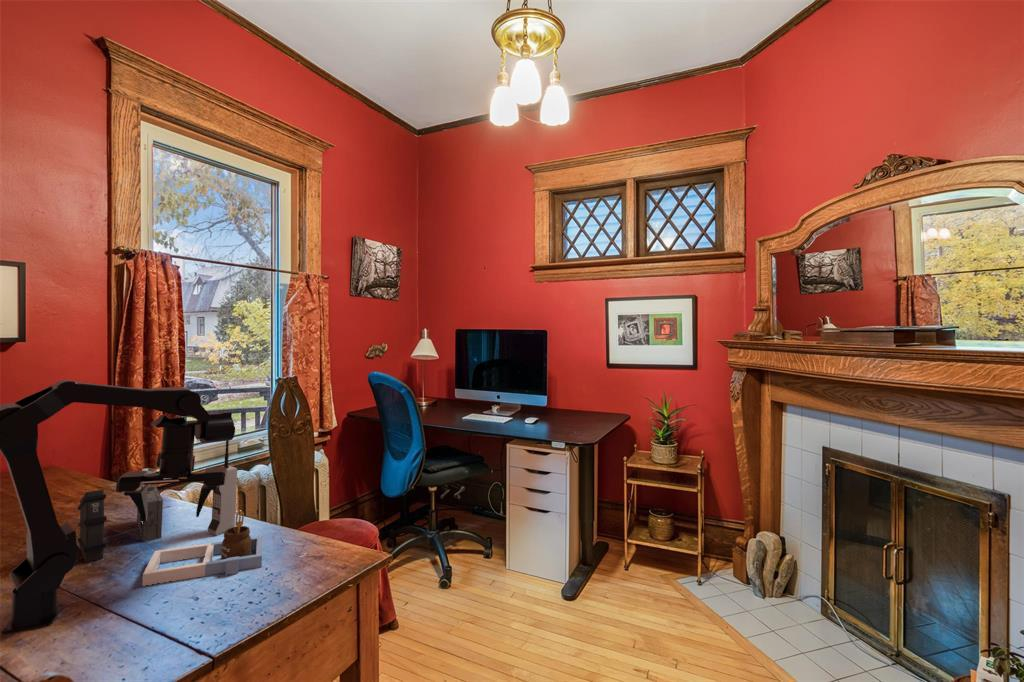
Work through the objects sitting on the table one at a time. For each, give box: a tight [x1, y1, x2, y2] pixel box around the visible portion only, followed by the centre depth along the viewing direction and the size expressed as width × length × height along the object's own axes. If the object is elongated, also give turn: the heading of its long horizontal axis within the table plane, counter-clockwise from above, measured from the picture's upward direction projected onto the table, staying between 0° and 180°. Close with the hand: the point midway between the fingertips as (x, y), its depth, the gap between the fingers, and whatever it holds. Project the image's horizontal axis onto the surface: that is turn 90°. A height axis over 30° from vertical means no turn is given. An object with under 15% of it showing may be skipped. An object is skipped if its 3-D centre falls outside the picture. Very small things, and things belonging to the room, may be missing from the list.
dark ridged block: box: [76, 489, 107, 563], centre depth 108 cm, size 4×13×15 cm, turn 49°
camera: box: [136, 484, 164, 542], centre depth 121 cm, size 16×4×10 cm, turn 44°
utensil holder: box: [220, 509, 252, 560], centre depth 107 cm, size 6×6×12 cm
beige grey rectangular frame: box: [142, 535, 264, 587], centre depth 105 cm, size 14×22×3 cm, turn 118°
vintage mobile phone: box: [207, 441, 238, 536], centre depth 122 cm, size 4×5×25 cm
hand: (172, 518), depth 99 cm, fingers open, 9 cm apart
